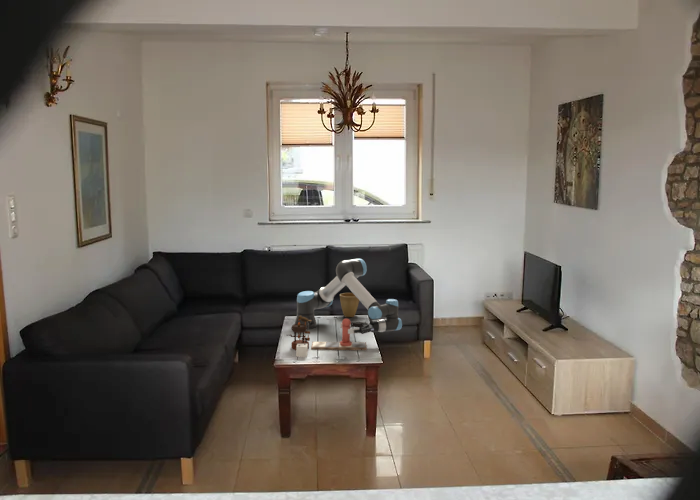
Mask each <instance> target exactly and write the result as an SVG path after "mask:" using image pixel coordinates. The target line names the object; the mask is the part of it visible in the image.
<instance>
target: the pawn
mask: <svg viewBox="0 0 700 500" xmlns="http://www.w3.org/2000/svg"><path fill="white" fill-rule="evenodd" d="M341 323H342V325H343V326H342V328H341V329H342V330H341V331H342V333H341V336H342V337H341V340H340V341H339V342H340V345H341V346H351V345H352V342H353V341H351V340H350V339H351V334H348V329H351V328H350V324H351V320H350V318H348V317H345V318H343V320H342V322H341Z"/></svg>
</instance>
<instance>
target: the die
mask: <svg viewBox="0 0 700 500" xmlns="http://www.w3.org/2000/svg"><path fill="white" fill-rule="evenodd" d="M295 351H296V353H295V355H296V357H297V358H307V357H308V344H297V346H296V350H295Z"/></svg>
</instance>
